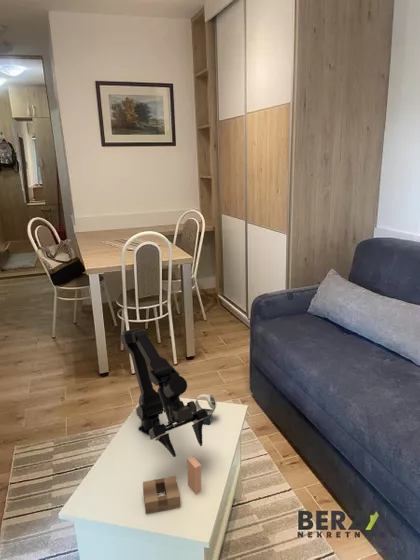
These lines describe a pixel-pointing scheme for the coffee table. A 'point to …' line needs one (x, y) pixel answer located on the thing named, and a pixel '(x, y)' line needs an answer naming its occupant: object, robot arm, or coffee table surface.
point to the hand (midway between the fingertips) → (188, 451)
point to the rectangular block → (194, 475)
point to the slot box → (161, 502)
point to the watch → (212, 405)
